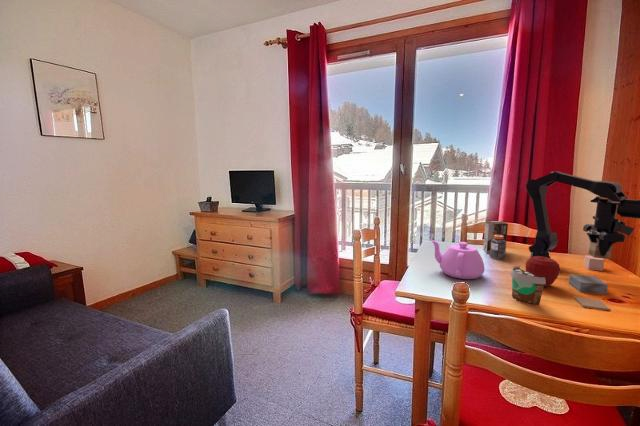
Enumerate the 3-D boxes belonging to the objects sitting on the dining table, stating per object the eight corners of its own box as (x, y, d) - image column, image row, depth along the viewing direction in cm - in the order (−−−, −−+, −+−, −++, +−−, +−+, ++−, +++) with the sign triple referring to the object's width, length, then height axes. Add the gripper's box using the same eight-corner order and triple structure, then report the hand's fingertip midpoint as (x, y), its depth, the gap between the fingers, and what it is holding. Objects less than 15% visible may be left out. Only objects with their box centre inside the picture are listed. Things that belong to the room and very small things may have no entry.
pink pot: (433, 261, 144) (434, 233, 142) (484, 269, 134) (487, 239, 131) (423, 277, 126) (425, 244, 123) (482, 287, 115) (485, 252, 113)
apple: (560, 293, 110) (564, 262, 108) (524, 287, 115) (528, 257, 113) (555, 282, 119) (558, 253, 117) (522, 277, 124) (525, 250, 122)
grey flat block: (579, 292, 111) (581, 282, 110) (568, 284, 118) (569, 274, 118) (606, 295, 108) (607, 284, 108) (593, 286, 116) (594, 276, 115)
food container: (499, 292, 111) (502, 265, 109) (515, 291, 111) (518, 265, 110) (525, 308, 99) (528, 278, 97) (542, 307, 99) (546, 278, 98)
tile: (582, 307, 99) (582, 305, 99) (574, 298, 106) (574, 296, 105) (609, 310, 97) (610, 309, 96) (599, 301, 103) (599, 299, 103)
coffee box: (501, 250, 161) (504, 221, 158) (505, 254, 155) (508, 223, 152) (482, 249, 163) (485, 220, 160) (486, 253, 157) (488, 222, 154)
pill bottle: (502, 256, 152) (504, 234, 150) (505, 260, 146) (507, 237, 144) (488, 255, 154) (490, 233, 152) (491, 258, 148) (493, 236, 146)
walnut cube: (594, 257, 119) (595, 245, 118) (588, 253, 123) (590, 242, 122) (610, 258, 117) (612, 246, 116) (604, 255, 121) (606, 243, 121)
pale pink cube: (588, 269, 133) (589, 258, 132) (583, 265, 138) (585, 255, 137) (602, 271, 131) (604, 259, 131) (597, 267, 136) (599, 256, 135)
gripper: (648, 220, 106) (640, 263, 108) (619, 212, 123) (613, 249, 125) (607, 218, 110) (600, 260, 112) (585, 210, 127) (580, 246, 130)
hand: (599, 253), depth 120 cm, fingers closed on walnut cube, 5 cm apart
